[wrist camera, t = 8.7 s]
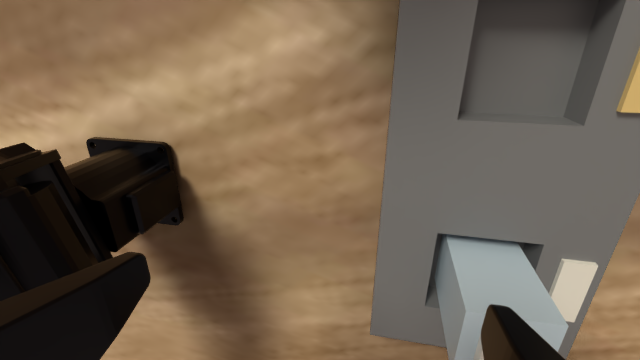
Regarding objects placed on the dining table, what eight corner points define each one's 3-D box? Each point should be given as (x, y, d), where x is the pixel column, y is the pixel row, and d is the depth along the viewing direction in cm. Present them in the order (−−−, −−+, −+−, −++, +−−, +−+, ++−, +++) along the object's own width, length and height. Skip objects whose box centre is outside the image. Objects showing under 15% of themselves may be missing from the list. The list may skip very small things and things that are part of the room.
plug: (434, 277, 22) (453, 385, 15) (443, 227, 20) (468, 321, 14) (498, 286, 21) (547, 402, 14) (512, 234, 20) (575, 338, 13)
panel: (371, 307, 25) (369, 338, 22) (406, -80, 15) (409, -104, 13) (545, 334, 23) (564, 371, 20) (714, -99, 13) (790, -131, 11)
